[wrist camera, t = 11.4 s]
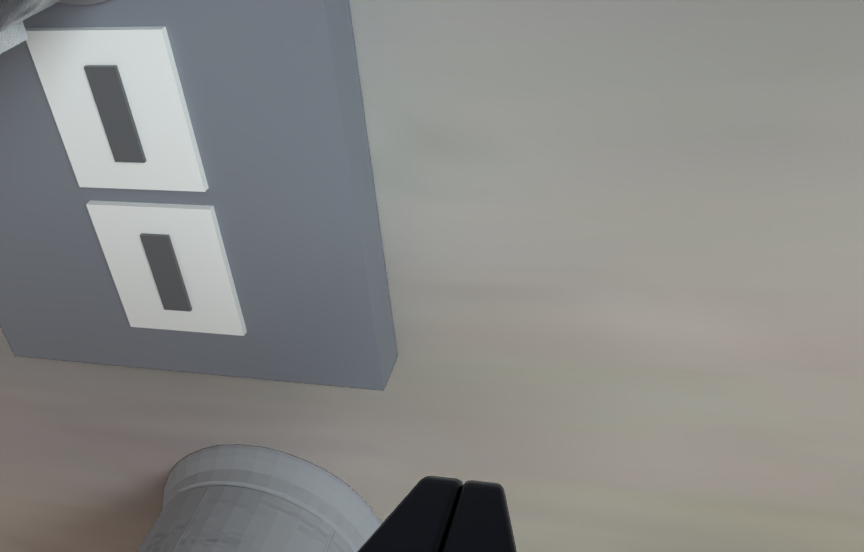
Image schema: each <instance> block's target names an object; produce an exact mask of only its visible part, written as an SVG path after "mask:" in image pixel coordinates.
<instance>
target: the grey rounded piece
mask: <svg viewBox="0 0 864 552" xmlns="http://www.w3.org/2000/svg"><path fill="white" fill-rule="evenodd" d="M380 525H381V522H380V521H379V519H378V518H377V516H376V515H375V513H374V512H373V510H372V509H371V508H370V507H369V506H368V504H367V503H366V502H365V501H364V500H363V499H362V498H361V497H360V496H359V495H358V494H357V493H356V492H355V491H353V490H352V489H351V488H350V487H348V486H347V485H346V484H345V483H344V482H342V481H341V480H339V479H338V478H336V477H335V476H333V475H331V474H330V473H328V472H327V471H325V470H324V469H322V468H320V467H318V466H316V465H313V464H311V463H309V462H307V461H305V460H303V459H301V458H298V457H295V456H292V455H289V454H286V453H283V452H280V451H276V450H272V449H267V448H263V447H257V446H247V445H219V446H214V447H209V448H204V449H201V450H199V451H197V452H194V453H192V454H189V455H188V456H186V457H185V458H184V459H182V460H181V461H179V462H178V463H177V464H176V466H175V467H174V468H173V470H172V471H171V472H170V474H169V477H168V479H167V482H166V484H165V487H164V498H163V508H162V510H161V513H160V515H159V516H158V518H157V520H156V521H155V523H154V525H153V526H152V528H151V530H150V531H149V533H148V535H147V536H146V538H145V540H144V541H143V543H142V544H141V546H140V548H139V549H138V551H137V552H357V551H358V550H359V549H360V548H361V547H362V546H363V545H364V543H365V542H366V541H367V540H368V539H369V538H370V537H371V536H372V534H373V533H374V532H375V531H376V530H377V529H378V528H379V526H380Z"/></svg>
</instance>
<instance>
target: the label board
mask: <svg viewBox="0 0 864 552" xmlns="http://www.w3.org/2000/svg"><path fill="white" fill-rule="evenodd" d="M23 24H24V27H25V30H26V32H27V35H28V38H29V39H27V40H25V41H23V42H21V43H20V44H18V45H16V46H14V47H12V48H10V49H9V50H7V51H5V52H3V53H1V54H0V326H1V328H2V330H3V333H4V335H5V337H6V339H7V341H8V343H9V345H10V347H11V349H12V351H13V353H14V355H15V356H20V357H31V358H42V359H52V360H63V361H74V362H84V363H95V364H105V365H116V366H127V367H137V368H148V369H159V370H169V371H180V372H190V373H201V374H212V375H222V376H233V377H244V378H254V379H265V380H276V381H286V382H297V383H307V384H318V385H329V386H339V387H350V388H361V389H371V390H382V391H384V389H385V387H386V384H387V382H388V379H389V377H390V374H391V372H392V369H393V367H394V364H395V361H396V359H397V356H398V355H397V348H396V341H395V333H394V326H393V319H392V311H391V304H390V297H389V290H388V282H387V275H386V268H385V260H384V253H383V246H382V239H381V231H380V224H379V217H378V210H377V202H376V195H375V188H374V180H373V173H372V166H371V159H370V151H369V144H368V137H367V129H366V122H365V115H364V108H363V100H362V93H361V86H360V78H359V71H358V64H357V57H356V49H355V42H354V35H353V27H352V20H351V13H350V6H349V0H61V1H60V2H58V3H56V4H54V5H52V6H50V7H48V8H46V9H44V10H42V11H40V12H38V13H36V14H34V15H32V16H31V17H29V18H27V19H25V20H23Z"/></svg>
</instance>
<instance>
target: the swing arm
mask: <svg viewBox="0 0 864 552" xmlns="http://www.w3.org/2000/svg"><path fill="white" fill-rule="evenodd" d="M60 1H61V0H0V54H1V53H3V52H5V51H7V50H9V49H10V48H12V47H14V46H16V45H18V44H20V43H21V42H23V41H25V40H27V39H29V38H28V35H27V32H26V30H25V27H24V24H23V20H25V19H27V18H29V17H31V16H32V15H34V14H36V13H38V12H40V11H42V10H44V9H46V8H48V7H50V6H52V5H54V4H56V3H58V2H60Z"/></svg>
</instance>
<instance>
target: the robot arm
mask: <svg viewBox="0 0 864 552" xmlns="http://www.w3.org/2000/svg"><path fill="white" fill-rule="evenodd" d="M357 552H517V551H516V546H515V541H514V536H513V531H512V526H511V522H510V517H509V512H508V507H507V502H506V497H505V492H504V489H503V487H502V486H501V485H500V484H498V483H490V482H481V481H472V480H471V481H467V482H465V484H464V485H463V483H462V481H460V480H458V479H455V478H446V477H437V476H427V477H425V478H423V479H421V480H420V481H419V482H418V484H417V485H416V486H415V487H414V488H413V489H412V490H411V492H410V493H409V494H408V495H407V496H406V497H405V498H404V499H403V501H402V502H401V503H400V504H399V505H398V506H397V507H396V508H395V510H394V511H393V512H392V513H391V514H390V515H389V516H388V517H387V519H386V520H385V521H384V522H383V523H382V524H381V525H380V526H379V528H378V529H377V530H376V531H375V532H374V533H373V534H372V536H371V537H370V538H369V539H368V540H367V541H366V542H365V543H364V545H363V546H362V547H361V548H360V549H359V550H358V551H357Z"/></svg>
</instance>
